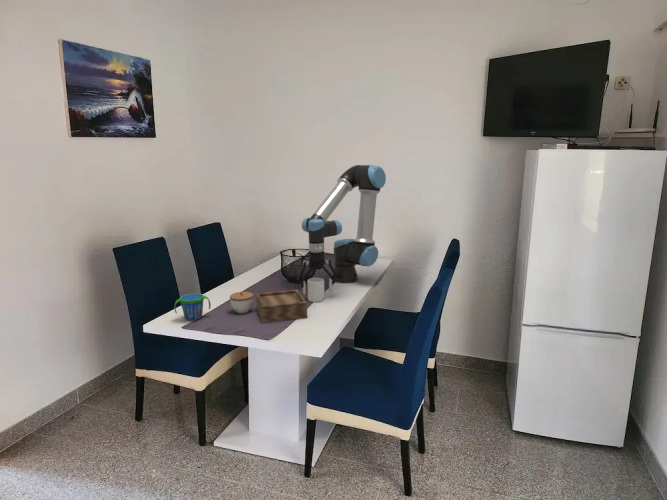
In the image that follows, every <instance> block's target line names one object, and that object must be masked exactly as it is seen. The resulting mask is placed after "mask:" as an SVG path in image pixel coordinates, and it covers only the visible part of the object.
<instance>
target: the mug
mask: <svg viewBox="0 0 667 500" xmlns="http://www.w3.org/2000/svg"><path fill="white" fill-rule="evenodd" d="M306 282H307V300H308V301H309V302H310V303H311V302H312V303H321V302H323V301H324V300H325V279H324V278H322V277H310V278H308V279H307V281H306Z"/></svg>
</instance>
